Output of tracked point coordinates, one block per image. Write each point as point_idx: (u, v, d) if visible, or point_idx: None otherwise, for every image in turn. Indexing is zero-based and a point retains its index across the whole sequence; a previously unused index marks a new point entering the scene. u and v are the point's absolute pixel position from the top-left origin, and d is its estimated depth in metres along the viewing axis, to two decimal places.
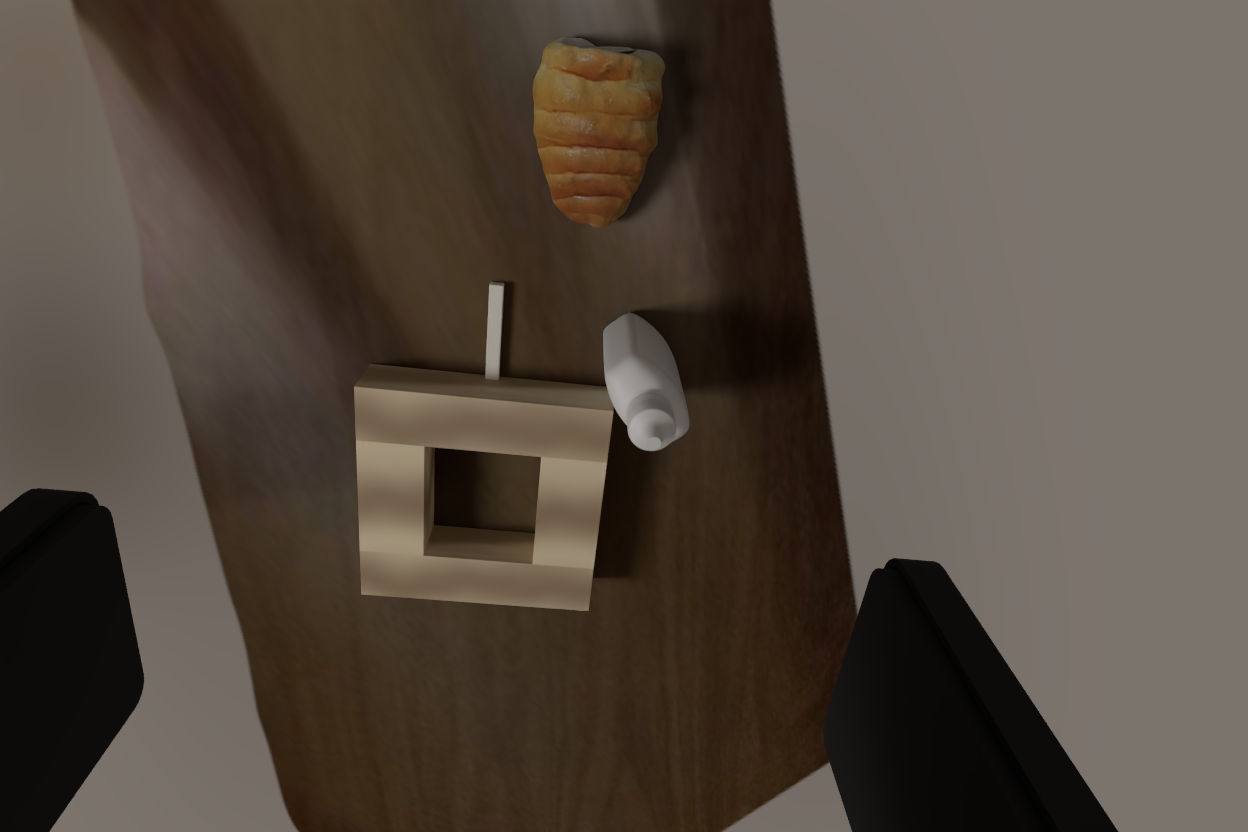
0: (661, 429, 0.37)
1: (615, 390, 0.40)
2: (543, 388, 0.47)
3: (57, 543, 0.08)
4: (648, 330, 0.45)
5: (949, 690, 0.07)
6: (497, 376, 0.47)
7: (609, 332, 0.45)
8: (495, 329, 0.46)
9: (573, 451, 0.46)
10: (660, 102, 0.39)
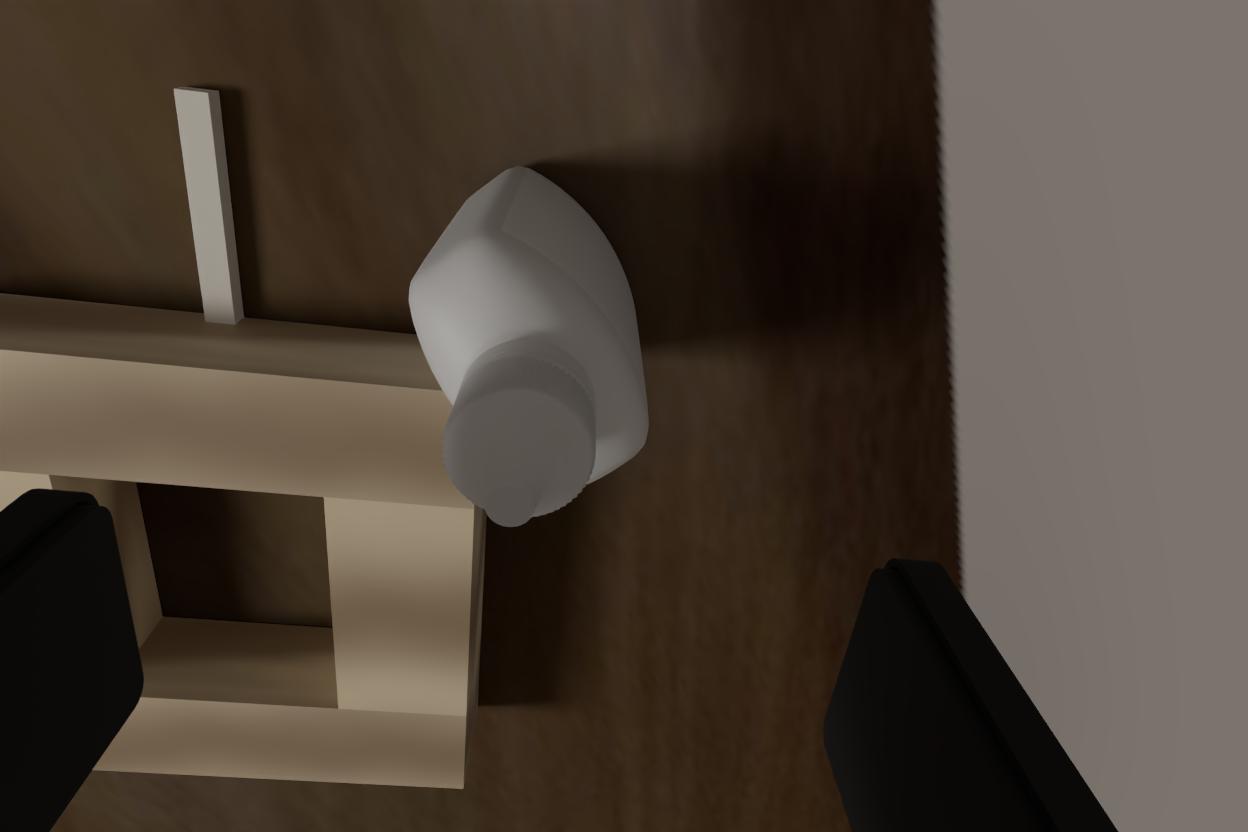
0: (543, 457, 0.11)
1: (431, 336, 0.14)
2: (332, 343, 0.21)
3: (57, 543, 0.08)
4: (557, 200, 0.19)
5: (949, 690, 0.07)
6: (232, 316, 0.21)
7: (464, 205, 0.19)
8: (208, 205, 0.20)
9: (395, 485, 0.20)
10: None
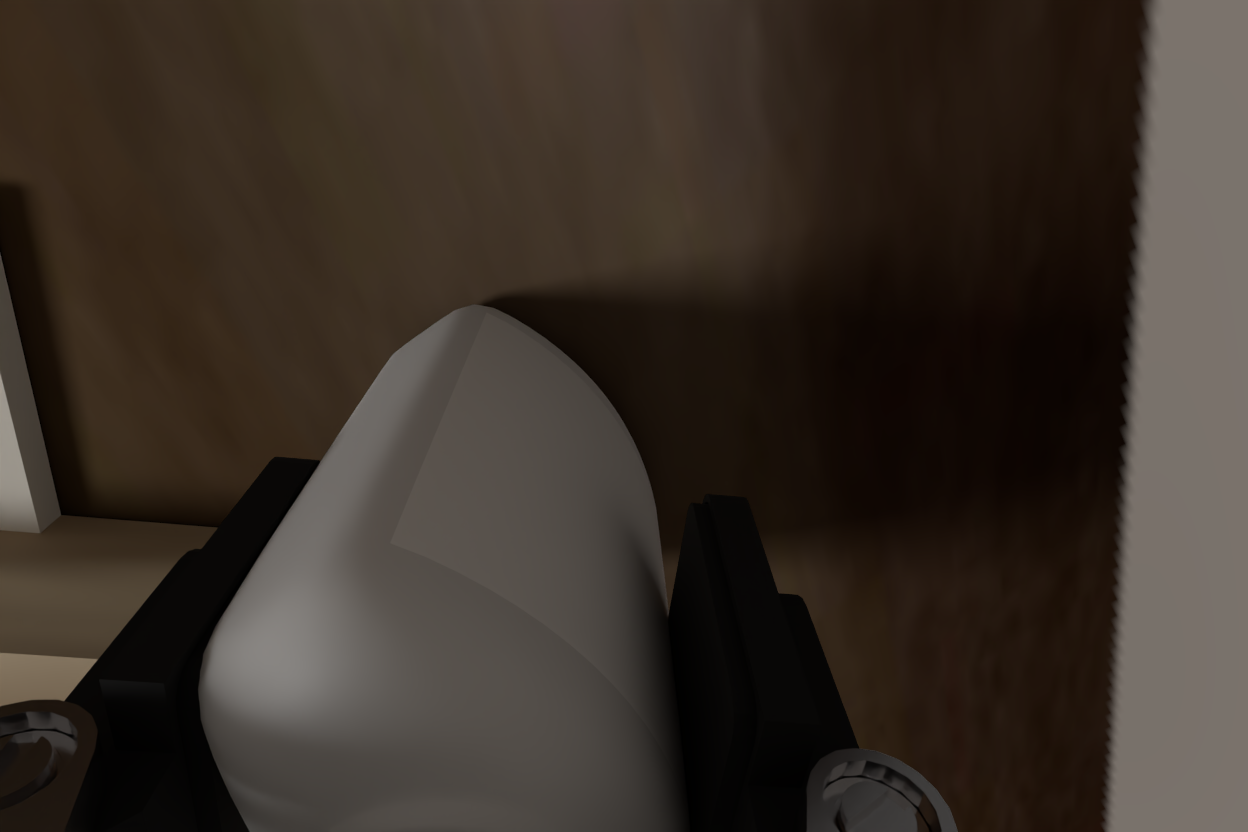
0: None
1: (234, 786, 0.06)
2: None
3: None
4: (531, 374, 0.11)
5: (716, 599, 0.08)
6: (34, 521, 0.14)
7: (378, 382, 0.11)
8: None
9: None
10: None
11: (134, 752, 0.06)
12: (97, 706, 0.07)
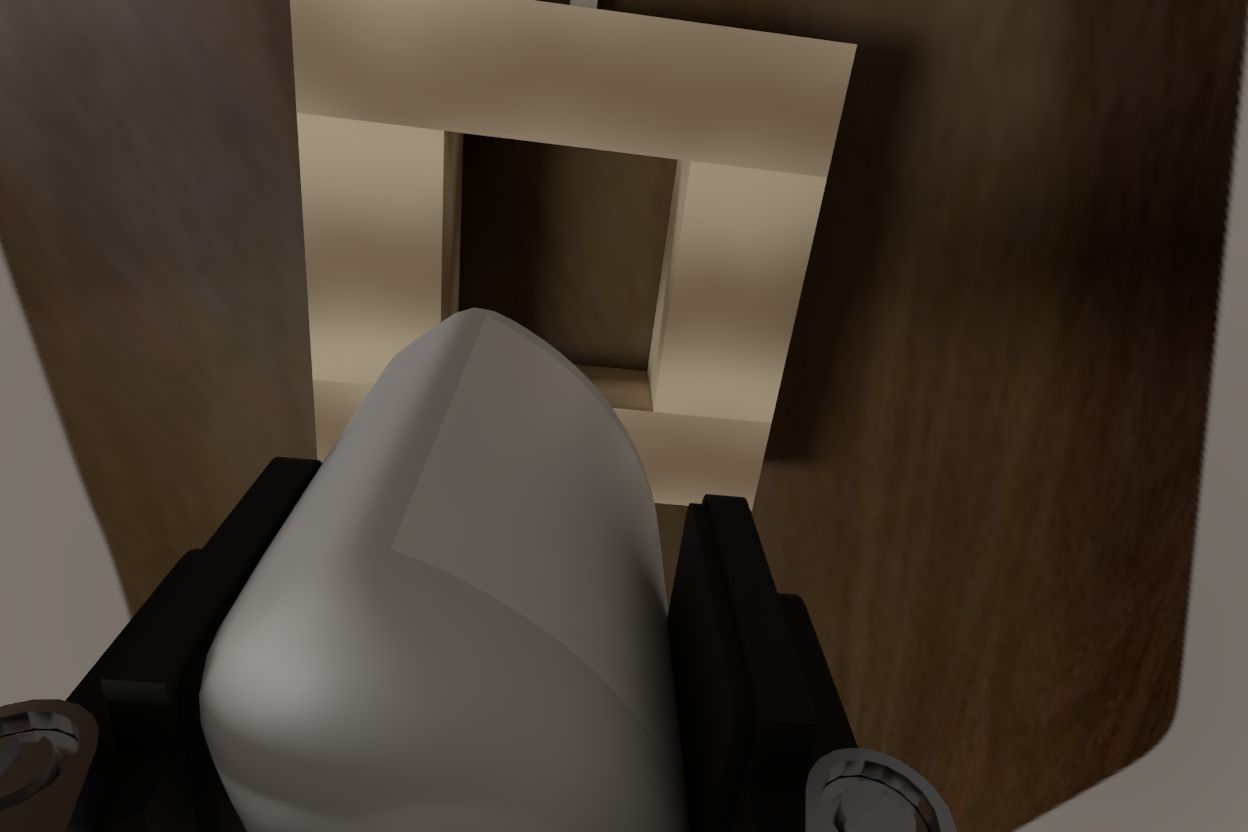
0: None
1: (234, 792, 0.06)
2: None
3: None
4: (532, 377, 0.11)
5: (715, 598, 0.08)
6: (595, 3, 0.23)
7: (378, 386, 0.11)
8: None
9: (760, 148, 0.22)
10: None
11: (135, 752, 0.06)
12: (98, 706, 0.07)
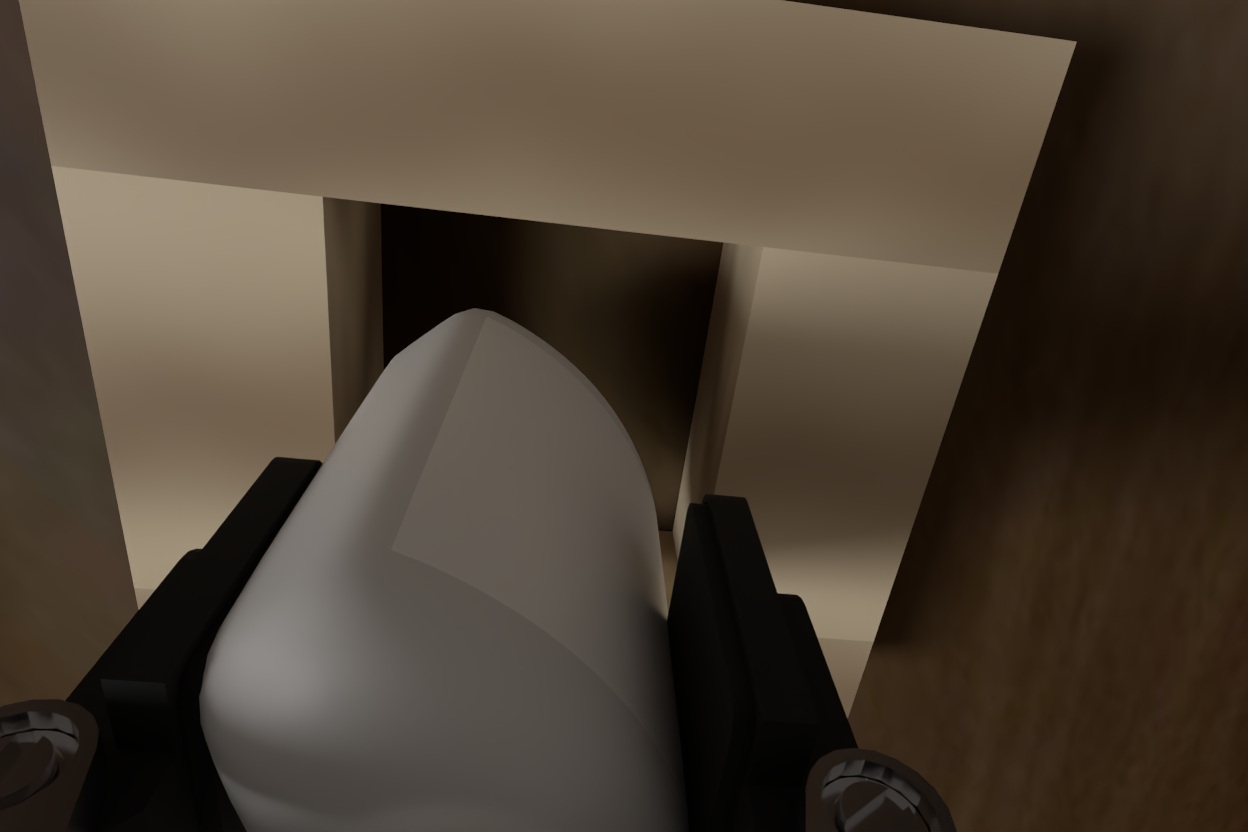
0: None
1: (235, 793, 0.06)
2: None
3: None
4: (532, 378, 0.11)
5: (715, 598, 0.08)
6: None
7: (378, 386, 0.11)
8: None
9: (885, 225, 0.12)
10: None
11: (135, 752, 0.06)
12: (98, 706, 0.07)
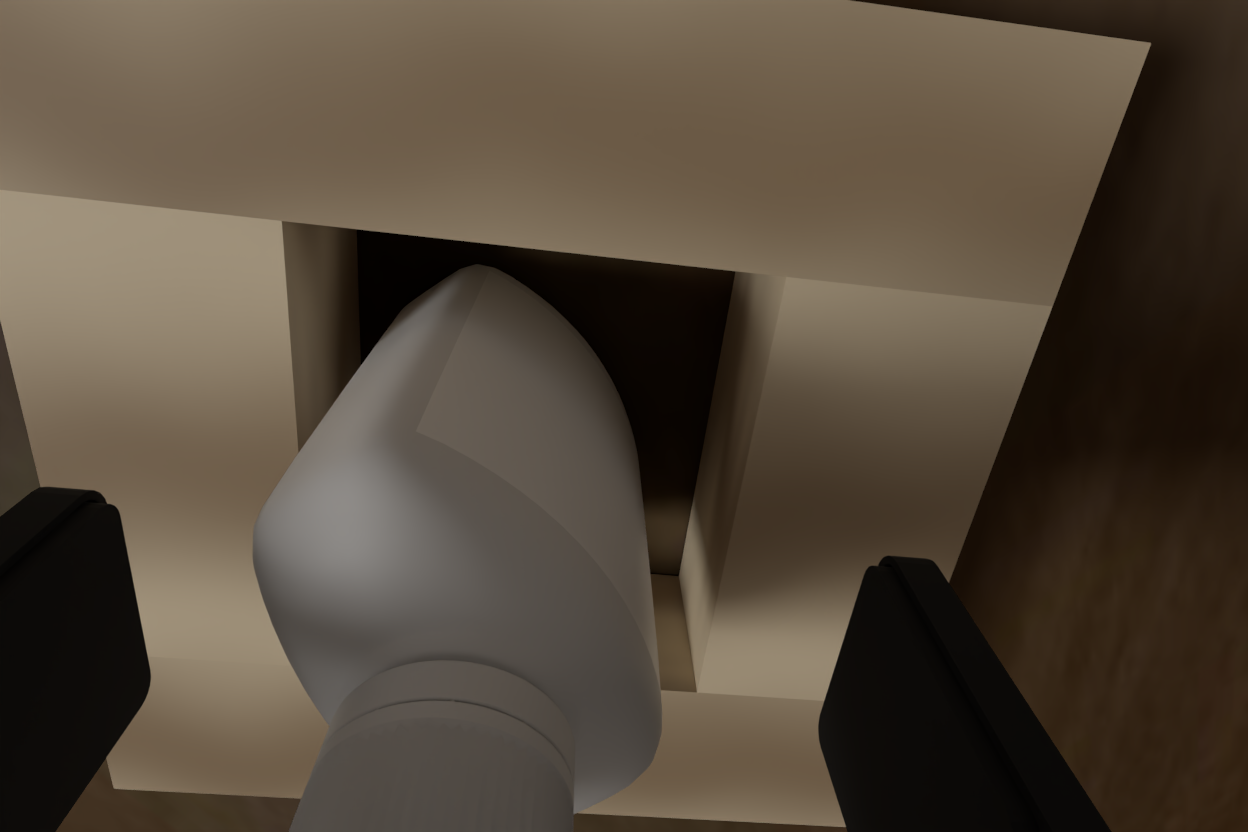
0: None
1: (283, 624, 0.08)
2: None
3: (67, 541, 0.08)
4: (529, 323, 0.13)
5: (941, 686, 0.08)
6: None
7: (392, 327, 0.13)
8: None
9: (926, 252, 0.11)
10: None
11: None
12: None
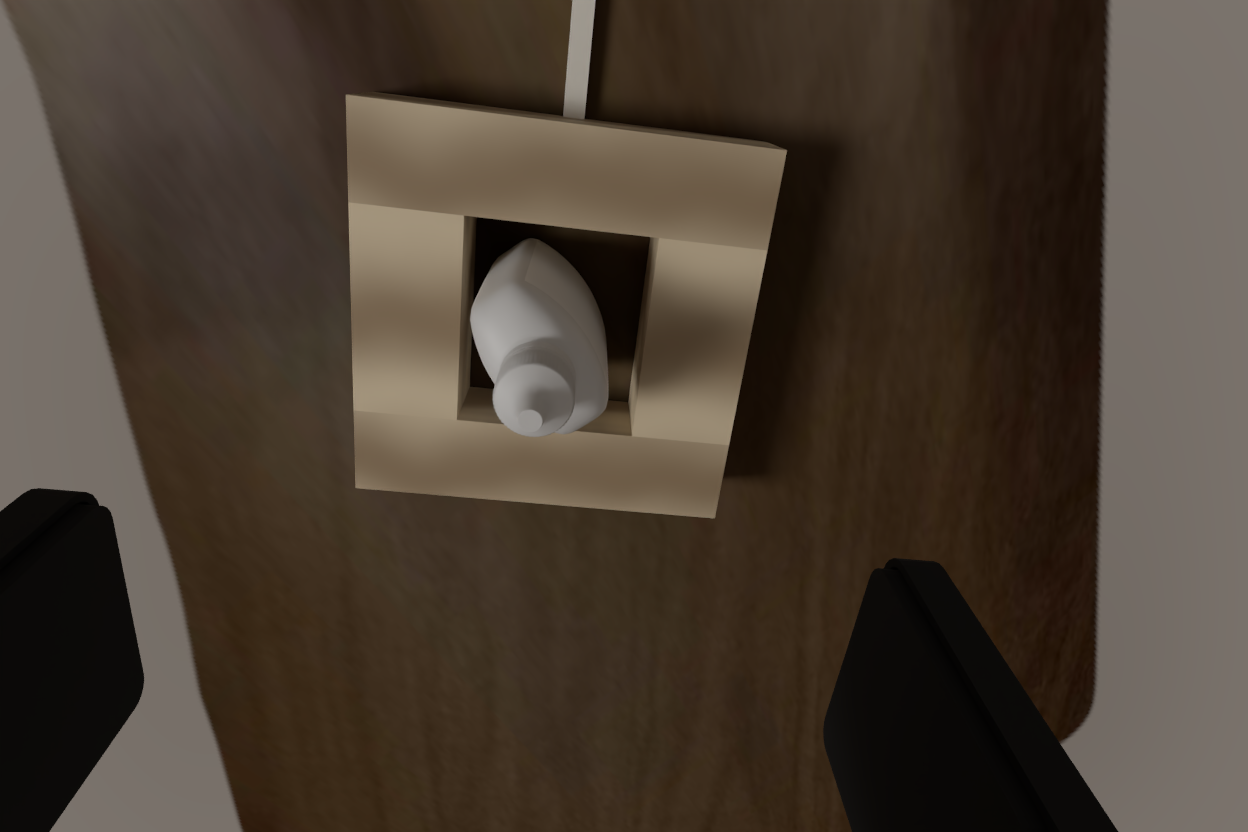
0: (547, 399, 0.22)
1: (484, 338, 0.24)
2: (659, 130, 0.28)
3: (57, 543, 0.08)
4: (556, 261, 0.29)
5: (949, 689, 0.07)
6: (583, 112, 0.29)
7: (496, 263, 0.29)
8: (585, 21, 0.27)
9: (713, 228, 0.28)
10: None
11: None
12: None
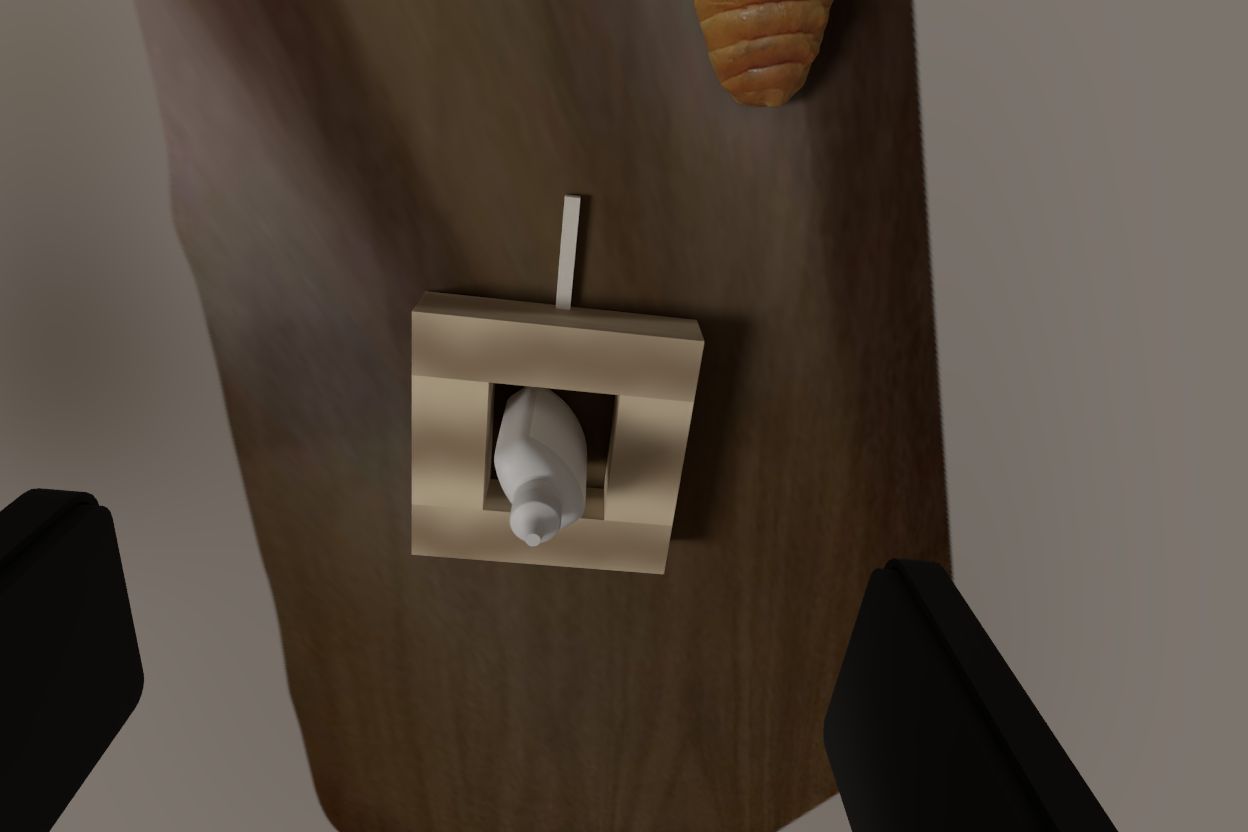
0: (543, 524, 0.35)
1: (503, 475, 0.38)
2: (621, 318, 0.42)
3: (57, 543, 0.08)
4: (551, 404, 0.43)
5: (949, 690, 0.07)
6: (569, 305, 0.42)
7: (510, 405, 0.43)
8: (569, 250, 0.40)
9: (656, 388, 0.41)
10: None
11: None
12: None
